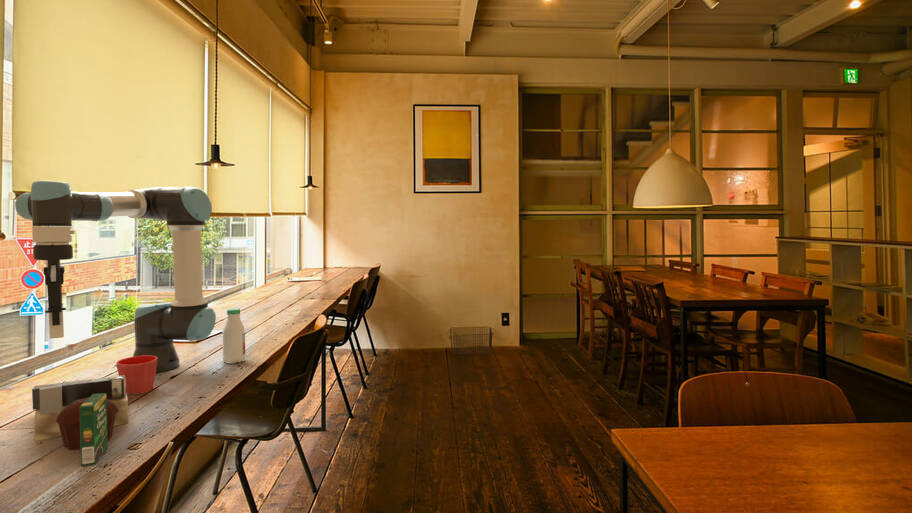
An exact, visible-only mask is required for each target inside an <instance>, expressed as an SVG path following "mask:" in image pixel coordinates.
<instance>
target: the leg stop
mask: <svg viewBox="0 0 912 513" xmlns="http://www.w3.org/2000/svg"><path fill="white" fill-rule="evenodd" d="M39 395H40V415H43V414H49V413H54V412H60V411H62V385H57V386H50V387H43V388H40V389H39Z"/></svg>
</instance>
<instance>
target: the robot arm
mask: <svg viewBox="0 0 912 513" xmlns="http://www.w3.org/2000/svg"><path fill="white" fill-rule="evenodd" d="M212 206H213V205H212V202H211V199H210V197H209V195H208V194H207V193H206V191H205V190H203V189H201V187H200V188H199V187H193V186H156V187H149V188H148V187H147V188H142V189H140V188H139V189H128V190H125V191H124V192H84V191H83V192H82V191H73V190H72V189H71V185H70V183H69V182H65V181H59V180H58V181H57V180H55V181H54V180H36V181H33V182H31V188H30V192H24V193H21V194H19V196H17V198H16V199H15V202H14V207H15V211H16V213H17V215H18V216H19V217H20V218H22V219H24V220H29V221H32V224H31V225H32V226H31V230H32V232H31V233H32V235H31V236H32V242H33V243H35V244H34V246H33V248H32V249H33V250H32V251H33V252H32V253H33V259H34V260H36V261H47V264H46V265H47V266H44V267H43V275H44V281H45V286H47V287H46V288H47V302H48V304H47V305H48V306H47V309H46V310H44V313H45V314H48V327H49V328H48V330H49V340H52V339H60V338H61V339H62V338H64V337H65V333H64V328H65V327H64V311H67V307H64V303H63V289H62V288H63V287H62V286H63V284H64V279H65V278H64V274H65V271H66V270H65V266H61V261H64V260H72V259H73V258H74V253H73V252H74V248H73V245H72V244H70V243H72V242H73V236H72V235H75V234H76V231H75V230H74V229H73V230H72V226H73V221H78V222H79V221H81V222H83V221H85V222H87V221H88V222H89V221H90V222H98V221H106V220H108V219H109V218H110V217H128V218H131V219H146V220H147V219H148V220H159V221H166V227H167V228H169V229H170V230H171V232H172V233H171V234H172V236H171V237H172V255H173V256H172V257H173V275H174V276H173V278H174V300H173V301H168V302H167V301H166V302H159V303H152V304H146V305H145V304H144V305H142V306H138V307H137V308H136V309H135V310H134V318H133V320H134V322H133V323H134V342H135V343H134V344H135V346H134V347H135V348H134V351H133V354H132V357H135V356H145V355H150V356H156V357H157V366H156V373H161V372H165V371H169V370H173V369H175V367H176V368H177V366H178V365H179V366H180V358H179V354H178V353H177V350H176V347H175V345H174V340H175V341H189V342H194V341H202V340H205V339H206V338H208V337H209V336H210V335H211V333H212V332H213V330H214V328H215V325H216V321H217V317H216V316H217V315H216V312H215V311H214V309H213V308H211V307H209V304H208V303H209V302H208V300H207V299H205V297H204V294H203V293H204V292H203V291H204V290H203V270H202V269H203V268H202V244H201V242H202V241H201V239H202V238H201V230H202V229H203V228H204V227H205V226H206V223H205V222H206V221H208V220H209V219H210V218H211V216H212V215H211V214H213V212H212V211H213V208H212ZM179 366H178V367H179ZM172 368H173V369H172ZM160 371H161V372H160Z"/></svg>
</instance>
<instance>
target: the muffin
mask: <svg viewBox="0 0 912 513" xmlns="http://www.w3.org/2000/svg"><path fill="white" fill-rule="evenodd" d="M88 398H89V397H88ZM88 398H83V399H80V400H77V401H74V402H73V403H71V404H69V405H68V406H66V407H65V408H63V409H62V411H61V412H60V413H59V415H58V417H57V419H56V422H57V423H58V424H59V428H60V432H61V436H60V437H61V440H62V444H63V447H64V448H66V449H68V450H69V451H73V450H75V451H76V450H77V451H78V450H80V451H81V448H80V406H81V405H82V404H83V403H84V402H85V401H86V400H87V399H88ZM106 405H107V435H108V436H107V438H108V442H110V440H111V439H112V437H113V432H114V428H115V426H114V421H115V415H116V413H117V412H118V411H119V408H118V407H117V405H116V404H115V403H114V402H113V401H111V400H109V399H106Z"/></svg>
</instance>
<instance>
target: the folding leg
mask: <svg viewBox="0 0 912 513" xmlns="http://www.w3.org/2000/svg"><path fill="white" fill-rule="evenodd" d="M57 385H62V406H66V405H69V404H71V403H73V402H74V401H77V400H80V399H83V398H88V397H90V396H91V395H92V394H99V393H106V399H109V400H110V399H119V398H124V397H125V396H126V395H127V394H126V377H125V375H124V376H119V375H116V376H115V375H114V376H108V377H101V378H92V379H84V380H83V379H82V380H75V381H74V380H73V381H67V382H59V383H58V382H57V383H49V384H41V385H40V384H39V385H35V386H34V387H32V389H31V390H32V391H31V394H32V395H31V396H32V397H31V398H32V399H31V400H32V411H36V409H40V395H39V389H40V388H43V387H50V386H57Z"/></svg>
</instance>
